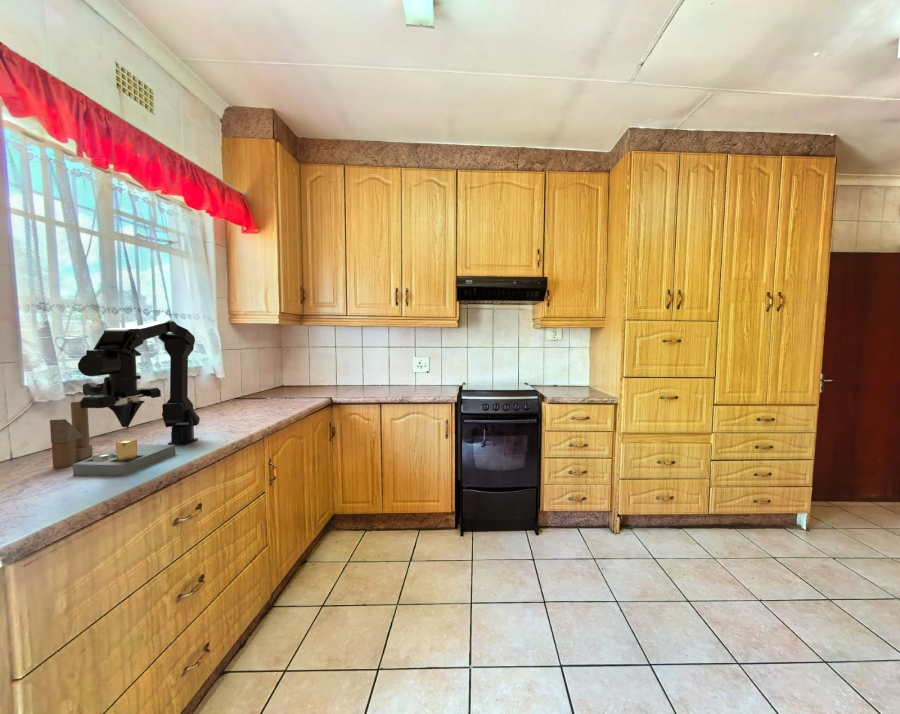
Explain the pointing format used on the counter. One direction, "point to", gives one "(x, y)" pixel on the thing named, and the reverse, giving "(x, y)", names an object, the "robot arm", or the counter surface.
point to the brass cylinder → (126, 450)
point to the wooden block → (71, 438)
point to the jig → (113, 468)
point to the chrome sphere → (103, 457)
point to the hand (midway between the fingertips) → (125, 427)
